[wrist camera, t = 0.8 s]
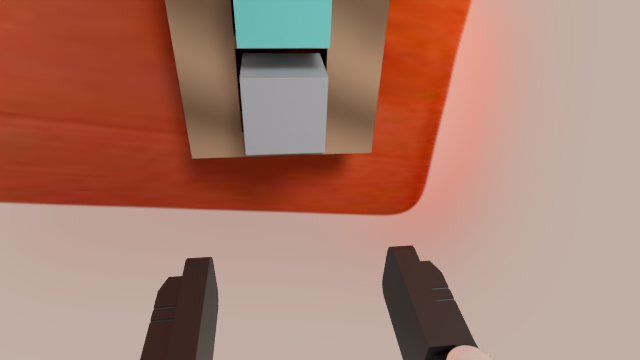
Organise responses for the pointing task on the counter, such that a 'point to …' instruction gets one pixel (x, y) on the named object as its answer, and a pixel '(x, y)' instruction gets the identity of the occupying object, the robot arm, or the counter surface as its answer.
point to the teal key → (283, 23)
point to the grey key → (283, 103)
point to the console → (220, 43)
